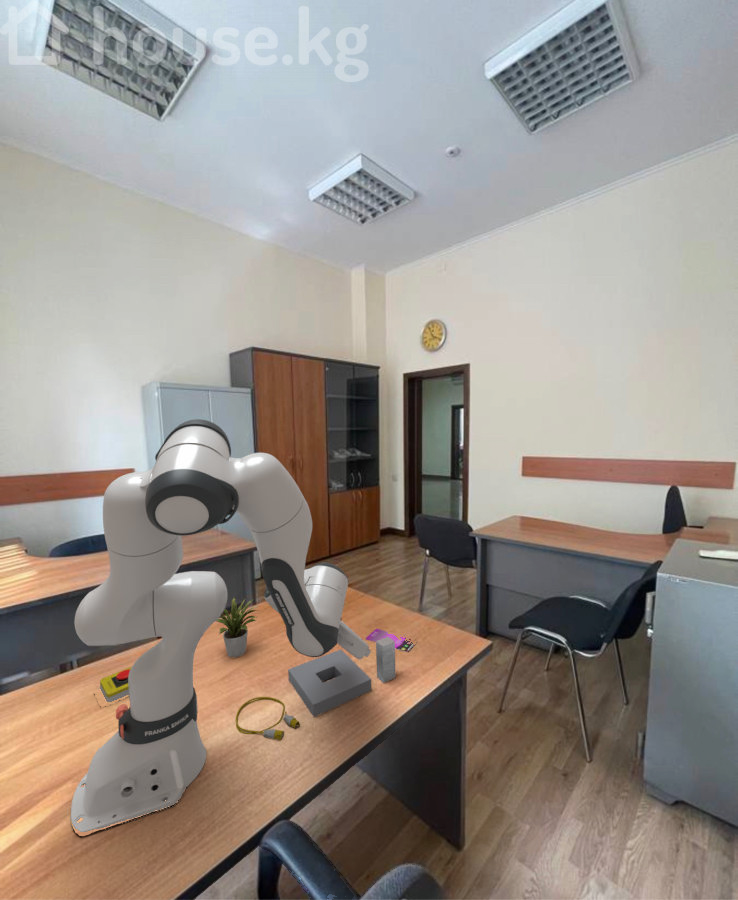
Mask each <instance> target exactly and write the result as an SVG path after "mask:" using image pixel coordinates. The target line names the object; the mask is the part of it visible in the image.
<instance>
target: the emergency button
mask: <svg viewBox="0 0 738 900" xmlns="http://www.w3.org/2000/svg"><path fill="white" fill-rule="evenodd" d="M131 668H132V666H130V667H127V668H124V669H122V670H120V671H117V672H115V673H112V674H110V675H107V676H104V677H102V678H101V679H100V680H99V689H101V691H102V693H103V695H104V697H105V699H106V701H107V702H112V701H114V700H117V699H119V698H122V697H124V696H126V695H129V685H128V676H129V672H130V670H131Z"/></svg>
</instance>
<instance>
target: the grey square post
mask: <svg viewBox="0 0 738 900" xmlns="http://www.w3.org/2000/svg"><path fill="white" fill-rule="evenodd" d="M375 652H376V653H375V654H376V655H375V656H376V657H375V658H376V678H377V679H378V680H379V681H380V682H381V683H382V684H386V683H387V682H390V681H391V680H393V679H396V677H397V675H396V649H395V641H393V640H392V639H391V638H390V637H386V638H383V639H381V640H378V641H376V643H375Z"/></svg>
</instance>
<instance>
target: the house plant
mask: <svg viewBox="0 0 738 900" xmlns="http://www.w3.org/2000/svg"><path fill="white" fill-rule="evenodd" d="M245 600H246V598H244V600H243V601H242V602H241V604H240V605H239V606H237V605H238V604H237V602H236V598H235V597H233V598H232V599H231V607H230V609H231V610H230V612H229V611H228V609H226V608H225V609H224V611H223V613H222V614H221V616H220V617H219V618H218V619H217V620H216V621H215V622H217V623H221V624H223V626H226V627H220V628H219V633H218V634H219V635H221V634H222V633H223V634H222V638H223V641H224V647H225V650H226V654H227V657H229V658H231V657H236V658H239V657H241V655H242V656H243V655H245V653H246V650H247V641H248V635H249V633H248V632H249V630H248V627H247V624H249V623H252V622H253V623H254V622H257V620H256V618H257V616H254V615H249V616H247V615H248V614H251V613H253V612H257V611H259V609H255V608H259V607H260V605H259V606H258V605H257V606H254V607H250V608H249V609H248V607H249V605H250V604H251V603H252V602H253V599H251V600H249V601H248V602H247V603H246V604H245V605H244V603H245V602H246V601H245ZM243 605H244V606H243ZM237 607H238V608H237ZM246 616H247V617H246ZM219 635H218V636H219ZM238 656H239V657H238Z"/></svg>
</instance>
